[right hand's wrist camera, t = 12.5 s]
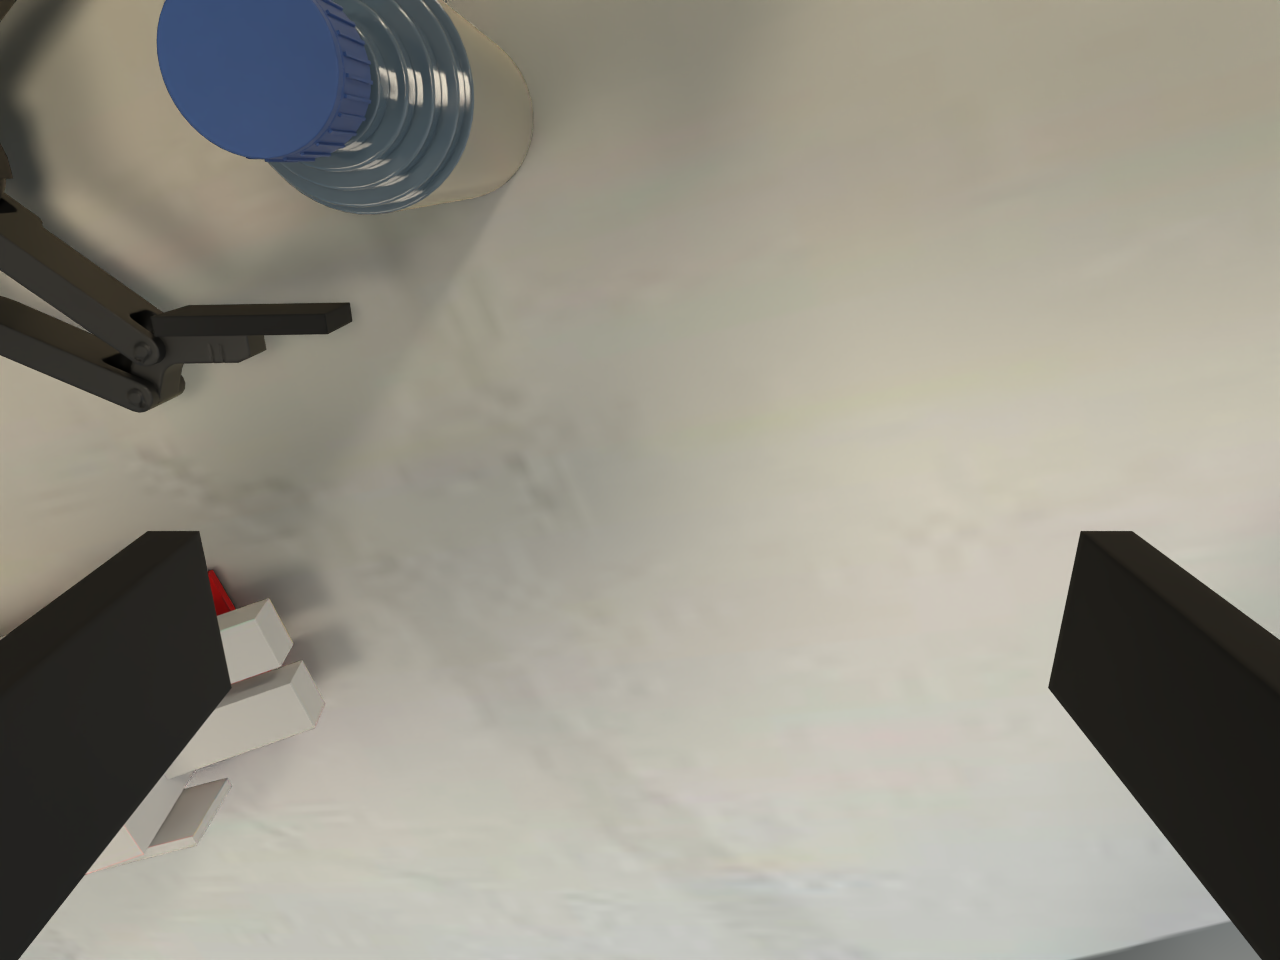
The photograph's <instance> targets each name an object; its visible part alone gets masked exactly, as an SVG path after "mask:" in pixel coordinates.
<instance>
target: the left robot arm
mask: <svg viewBox="0 0 1280 960" xmlns="http://www.w3.org/2000/svg"><path fill="white" fill-rule="evenodd" d="M15 2H16V0H0V22H1V20H2V19H3V18H4V16H5V15H6V14H7V12H8V11H9V10H10V8H11V7H12V6H13V4H14V3H15ZM9 178H13V176H12V173H11V169H10V165H9V162H8V158H7V155H6V154H5V152H4V150H3V148H2V146H1V144H0V270H1V271H2V272H4V273H5V274H7V275H8V276H9V277H11V278H12V279H14V280H15V281H17V282H18V283H20V284H21V285H23V286H24V287H25V288H27V289H28V290H30V291H31V292H33V293H34V294H36V295H37V296H39V297H40V298H41V299H43V300H44V301H46V302H47V303H49V304H50V305H52V306H53V307H54V308H56V309H57V310H59V311H60V312H62V313H63V314H65V315H66V316H68V317H69V318H70V319H72V320H73V321H75V322H76V323H78V324H79V325H81V326H82V327H84V328H85V329H86V330H88V331H89V332H91V333H92V334H91V333H89V332H86V331H84V330H82V329H79V328H77V327H75V326H72V325H70V324H68V323H65V322H63V321H61V320H58V319H56V318H54V317H51V316H49V315H47V314H45V313H42V312H40V311H38V310H35V309H33V308H31V307H28V306H26V305H24V304H21V303H19V302H17V301H14V300H11V299H9V298H6V297H2V296H0V355H1V356H4V357H6V358H8V359H11V360H13V361H15V362H18V363H20V364H23V365H25V366H27V367H30V368H32V369H34V370H37V371H39V372H41V373H44V374H46V375H49V376H51V377H53V378H56V379H58V380H60V381H63V382H65V383H68V384H70V385H72V386H75V387H77V388H79V389H82V390H84V391H87V392H89V393H91V394H94V395H96V396H98V397H101V398H103V399H106V400H108V401H110V402H113V403H115V404H117V405H120V406H122V407H125V408H127V409H129V410H132V411H135V412H139V413H140V412H145V411H148V410H150V409H152V408H154V407H156V406H158V405H160V404H162V403H164V402H166V401H168V400H170V399H172V398H174V397H176V396H178V395H180V394H181V393H183V391H184V389H185V381H184V378H183V377H182V375H181V371H182V367H183V364H184V363H239V362H241V361H243V360H245V359H248V358H250V357H252V356H254V355H256V354H258V353H260V352H263V351H265V350H266V345H265V340H264V335H303V334H329V333H331V332H333V331H335V330H337V329H339V328H341V327H343V326H344V325H346V324H348V323H350V322H352V315H351V308H350V303H295V304H237V305H188V306H185V307H181V308H178V309H175V310H171V311H168V312H165V313H163V312H162V311H160V310H159V309H157V308H156V307H155V306H153V305H152V304H150V303H149V302H148V301H146V300H145V299H143V298H142V297H141V296H139V295H138V294H136V293H135V292H133V291H132V290H131V289H129V288H128V287H126V286H125V285H124V284H122V283H121V282H119V281H118V280H117V279H115V278H114V277H112V276H111V275H109V274H108V273H107V272H105V271H104V270H102V269H101V268H100V267H98V266H97V265H95V264H94V263H93V262H91V261H90V260H88V259H87V258H86V257H84V256H83V255H81V254H80V253H78V252H77V251H76V250H74V249H73V248H71V247H70V246H69V245H67V244H66V243H64V242H63V241H62V240H60V239H59V238H57V237H56V236H54V235H53V234H52V233H50V232H49V231H47V230H46V229H45V228H44V227H43V226H42V220H41V219H40V218H39V217H38V216H36V215H35V214H33V213H32V212H31V211H29V210H28V209H26V208H25V207H24V206H22V205H21V204H19V203H18V202H17V201H15V200H14V199H12V198H11V197H10V196H8V195H7V194H5V193H4V190H5V186H6V179H9ZM93 334H94V335H93Z"/></svg>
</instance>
